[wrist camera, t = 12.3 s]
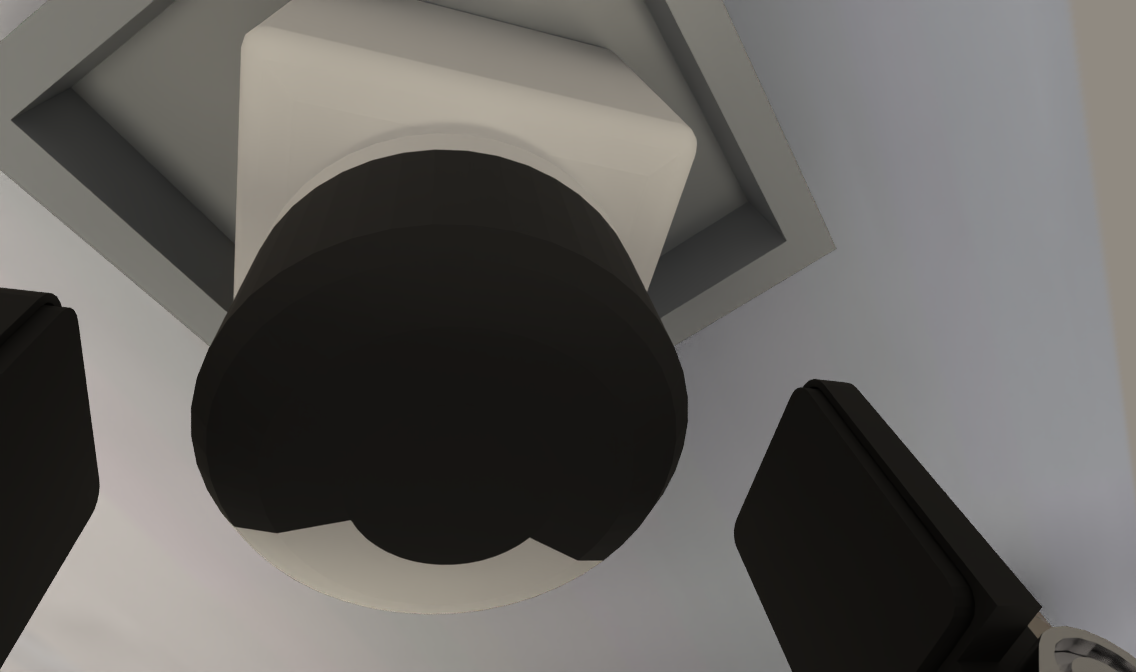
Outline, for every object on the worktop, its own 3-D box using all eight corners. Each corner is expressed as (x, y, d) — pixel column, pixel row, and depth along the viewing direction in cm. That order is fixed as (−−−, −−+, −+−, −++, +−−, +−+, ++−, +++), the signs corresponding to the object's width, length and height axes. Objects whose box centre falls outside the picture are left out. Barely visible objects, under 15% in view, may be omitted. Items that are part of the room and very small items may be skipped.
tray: (782, 198, 21) (836, 248, 18) (407, 431, 24) (402, 508, 21) (512, -353, 14) (530, -417, 11) (16, 67, 17) (-75, 106, 14)
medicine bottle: (315, -29, 16) (85, 122, 6) (619, 50, 18) (853, 271, 7) (293, 259, 19) (126, 671, 9) (549, 301, 21) (646, 682, 11)
